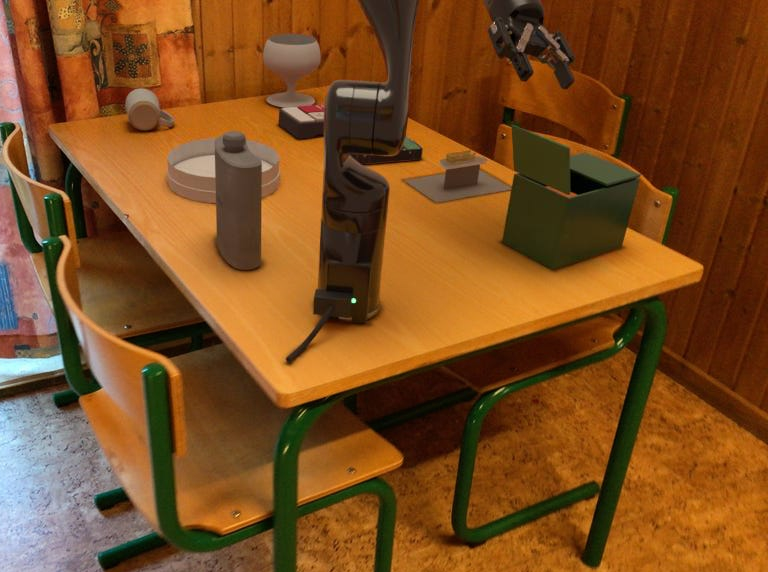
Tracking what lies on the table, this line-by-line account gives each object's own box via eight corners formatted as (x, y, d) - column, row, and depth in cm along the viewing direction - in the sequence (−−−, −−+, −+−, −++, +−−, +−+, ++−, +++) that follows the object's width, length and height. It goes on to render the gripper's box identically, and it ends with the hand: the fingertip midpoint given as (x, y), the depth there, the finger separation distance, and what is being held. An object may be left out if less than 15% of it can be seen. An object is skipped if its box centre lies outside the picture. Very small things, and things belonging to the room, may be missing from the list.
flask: (210, 233, 147) (207, 119, 135) (243, 230, 148) (242, 117, 137) (228, 273, 135) (226, 151, 123) (264, 269, 136) (265, 149, 125)
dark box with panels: (359, 115, 191) (299, 120, 185) (356, 134, 193) (298, 139, 187) (336, 102, 199) (278, 105, 193) (334, 120, 201) (277, 124, 195)
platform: (403, 180, 169) (406, 148, 165) (477, 168, 175) (482, 137, 172) (436, 202, 160) (440, 169, 156) (513, 189, 166) (519, 157, 163)
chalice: (329, 105, 209) (332, 42, 200) (281, 113, 202) (282, 49, 194) (299, 90, 218) (301, 30, 210) (252, 98, 212) (252, 36, 204)
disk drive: (356, 167, 175) (422, 160, 178) (357, 153, 173) (424, 147, 177) (340, 149, 183) (403, 143, 187) (340, 137, 182) (404, 131, 185)
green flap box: (553, 270, 138) (570, 194, 131) (501, 242, 146) (514, 169, 139) (621, 247, 146) (641, 174, 138) (569, 222, 154) (585, 152, 147)
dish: (256, 211, 155) (256, 185, 152) (147, 193, 160) (145, 168, 158) (294, 169, 172) (295, 145, 170) (195, 154, 178) (194, 131, 175)
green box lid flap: (570, 194, 131) (568, 195, 131) (515, 169, 139) (513, 170, 139) (570, 147, 125) (568, 148, 125) (513, 124, 134) (511, 125, 133)
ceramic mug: (129, 133, 188) (126, 98, 184) (126, 121, 195) (124, 88, 190) (176, 131, 190) (175, 97, 186) (172, 120, 197) (171, 87, 193)
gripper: (492, -26, 126) (530, 56, 120) (560, -9, 133) (599, 70, 127) (462, 12, 132) (497, 93, 125) (528, 27, 139) (565, 104, 133)
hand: (548, 81), depth 126 cm, fingers open, 8 cm apart
